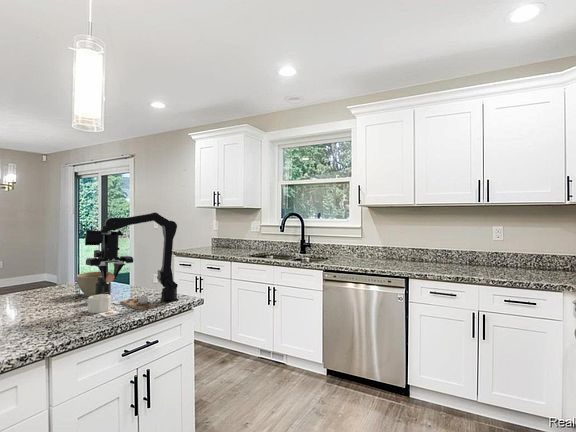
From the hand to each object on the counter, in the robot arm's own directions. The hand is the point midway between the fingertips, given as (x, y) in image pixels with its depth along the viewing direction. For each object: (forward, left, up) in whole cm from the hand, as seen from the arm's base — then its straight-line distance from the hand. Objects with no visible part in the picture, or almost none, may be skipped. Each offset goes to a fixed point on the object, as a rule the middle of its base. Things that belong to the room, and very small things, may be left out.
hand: (109, 279), depth 149 cm
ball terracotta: (0, 0, +1) cm, 1 cm away
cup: (+4, 0, -13) cm, 14 cm away
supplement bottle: (-4, -15, -13) cm, 20 cm away
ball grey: (-11, +10, -10) cm, 18 cm away
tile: (+4, +9, -13) cm, 16 cm away
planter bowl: (-7, -31, -13) cm, 34 cm away
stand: (-11, +5, -13) cm, 18 cm away
